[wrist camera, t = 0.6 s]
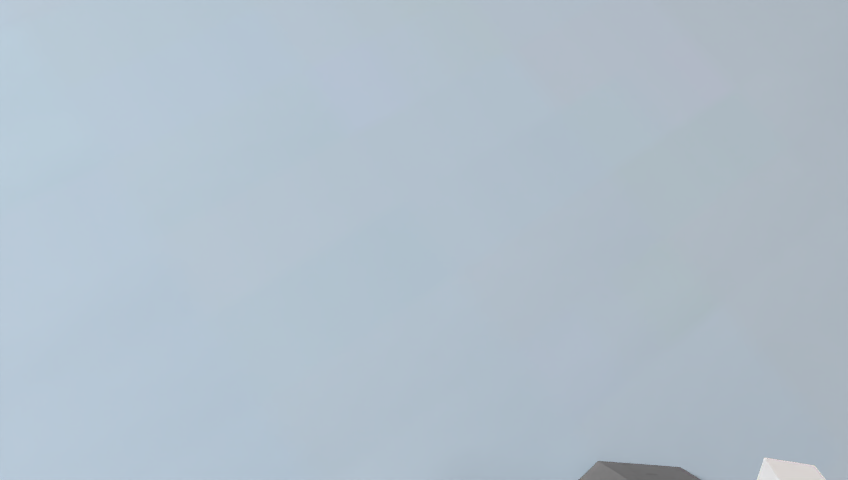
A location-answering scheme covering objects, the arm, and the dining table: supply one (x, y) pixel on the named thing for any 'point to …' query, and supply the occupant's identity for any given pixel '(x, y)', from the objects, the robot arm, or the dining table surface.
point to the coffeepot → (635, 472)
